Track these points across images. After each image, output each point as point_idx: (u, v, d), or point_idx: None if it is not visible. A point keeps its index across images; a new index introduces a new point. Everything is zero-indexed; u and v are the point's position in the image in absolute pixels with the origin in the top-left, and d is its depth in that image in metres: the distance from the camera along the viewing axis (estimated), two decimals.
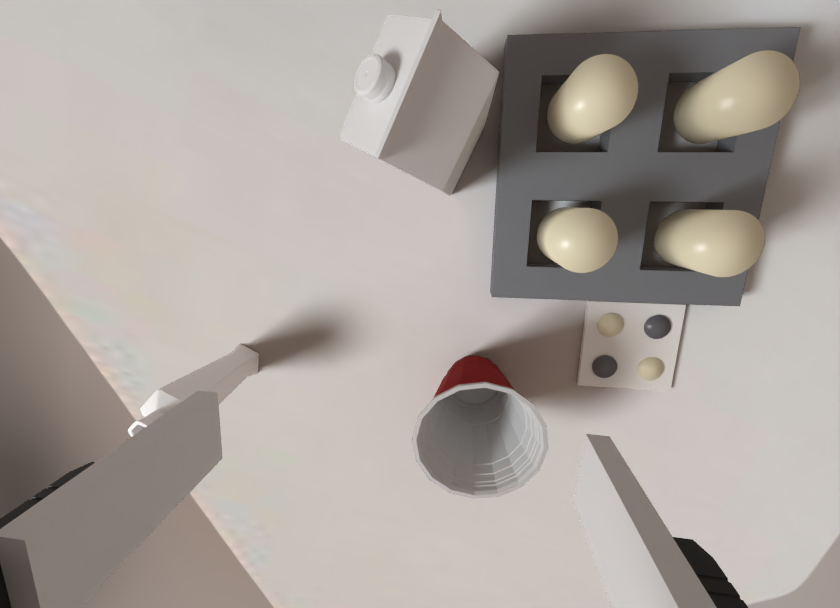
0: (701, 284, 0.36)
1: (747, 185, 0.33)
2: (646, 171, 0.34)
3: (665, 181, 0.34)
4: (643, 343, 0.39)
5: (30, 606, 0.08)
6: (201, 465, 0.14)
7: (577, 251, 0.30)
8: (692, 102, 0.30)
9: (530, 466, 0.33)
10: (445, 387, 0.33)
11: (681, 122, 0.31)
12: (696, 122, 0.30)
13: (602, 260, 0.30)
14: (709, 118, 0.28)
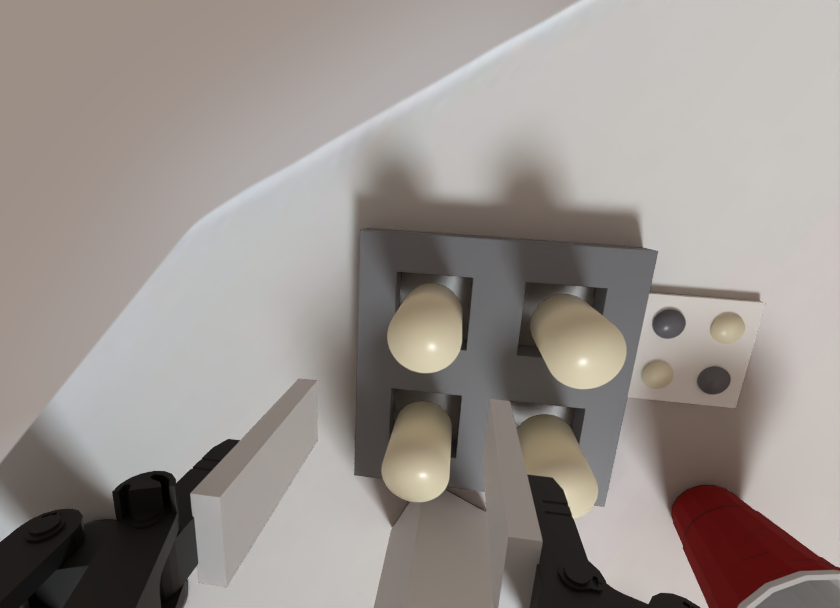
0: (622, 296, 0.30)
1: (510, 260, 0.30)
2: (484, 360, 0.32)
3: (496, 341, 0.32)
4: (688, 337, 0.32)
5: (216, 556, 0.10)
6: (306, 445, 0.15)
7: (572, 497, 0.27)
8: None
9: None
10: None
11: None
12: None
13: (586, 475, 0.27)
14: None
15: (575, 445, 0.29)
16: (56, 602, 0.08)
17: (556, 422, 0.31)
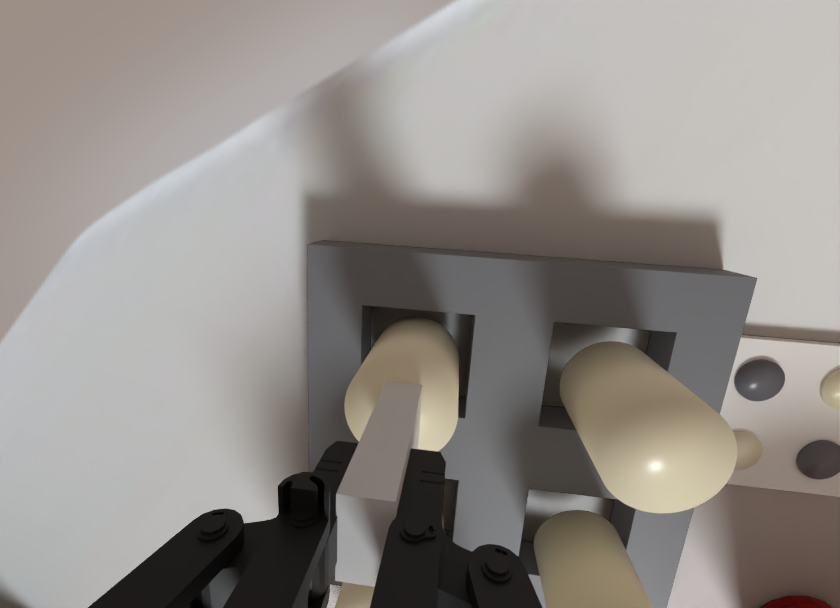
0: (698, 345, 0.20)
1: (530, 289, 0.20)
2: (491, 432, 0.22)
3: (509, 406, 0.22)
4: (787, 399, 0.22)
5: (355, 554, 0.10)
6: None
7: None
8: None
9: None
10: None
11: None
12: None
13: None
14: None
15: (631, 574, 0.19)
16: (214, 604, 0.08)
17: (597, 527, 0.21)
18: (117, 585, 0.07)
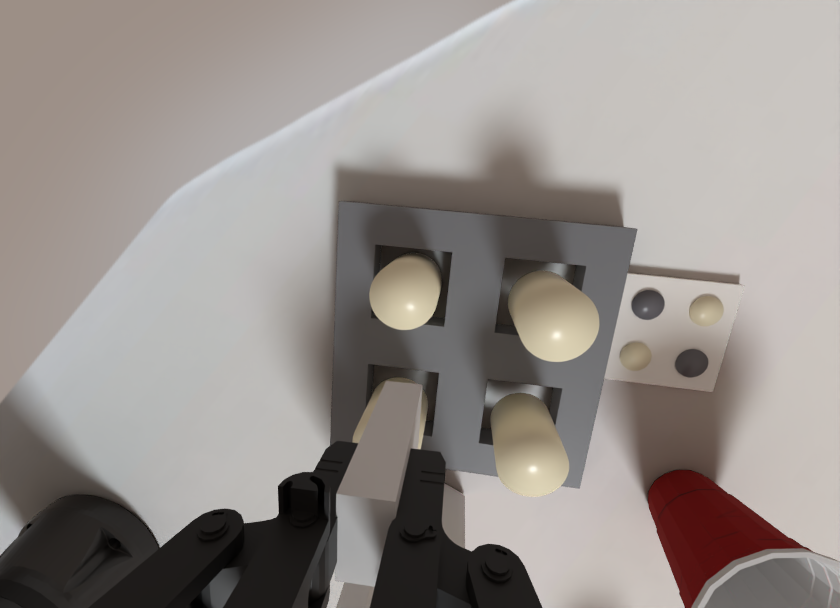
0: (601, 274, 0.30)
1: (489, 234, 0.30)
2: (462, 337, 0.32)
3: (474, 318, 0.31)
4: (667, 319, 0.32)
5: (355, 554, 0.10)
6: None
7: (543, 473, 0.27)
8: None
9: (832, 566, 0.24)
10: None
11: None
12: None
13: (557, 450, 0.26)
14: None
15: (549, 422, 0.29)
16: (214, 604, 0.08)
17: (532, 400, 0.31)
18: (117, 585, 0.07)
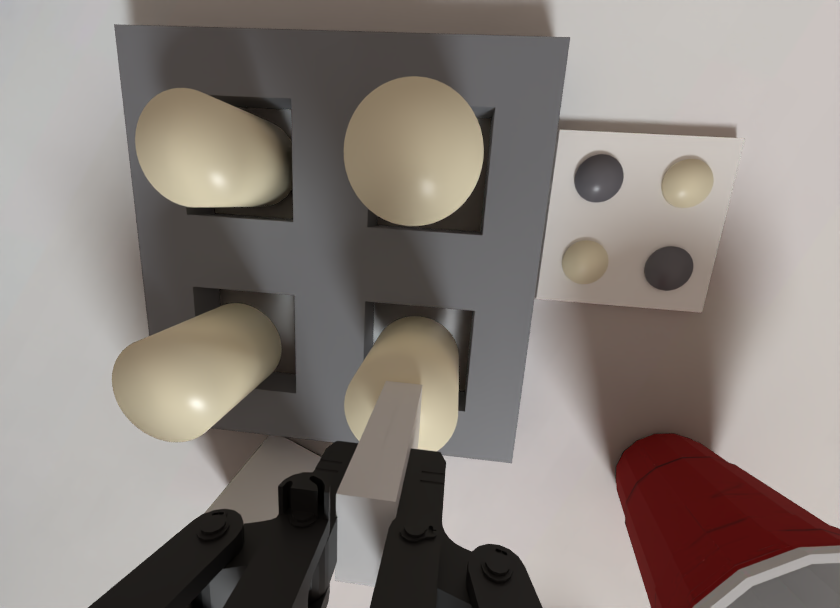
0: (518, 120, 0.19)
1: (343, 65, 0.19)
2: (320, 237, 0.21)
3: (336, 205, 0.21)
4: (629, 200, 0.21)
5: (355, 554, 0.10)
6: None
7: None
8: None
9: None
10: None
11: (266, 203, 0.22)
12: (255, 200, 0.20)
13: (436, 381, 0.16)
14: (239, 199, 0.19)
15: (438, 346, 0.18)
16: (214, 604, 0.08)
17: (425, 323, 0.21)
18: (117, 585, 0.07)
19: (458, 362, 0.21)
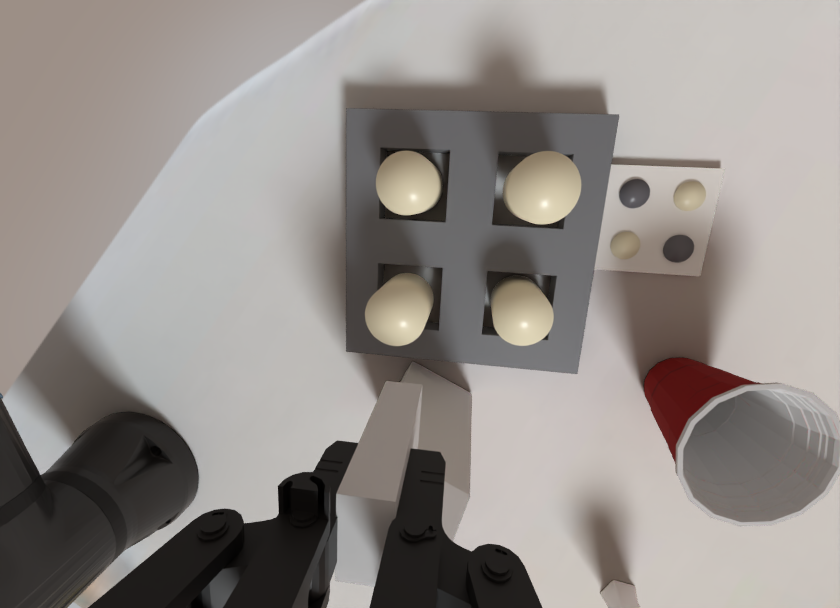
0: (587, 161, 0.32)
1: (483, 130, 0.33)
2: (462, 231, 0.35)
3: (473, 212, 0.34)
4: (653, 206, 0.34)
5: (355, 554, 0.10)
6: None
7: (532, 323, 0.32)
8: None
9: (805, 399, 0.26)
10: None
11: (424, 211, 0.36)
12: (426, 210, 0.34)
13: (543, 301, 0.32)
14: (424, 210, 0.33)
15: (537, 288, 0.34)
16: (214, 604, 0.08)
17: (524, 278, 0.36)
18: (117, 585, 0.07)
19: None
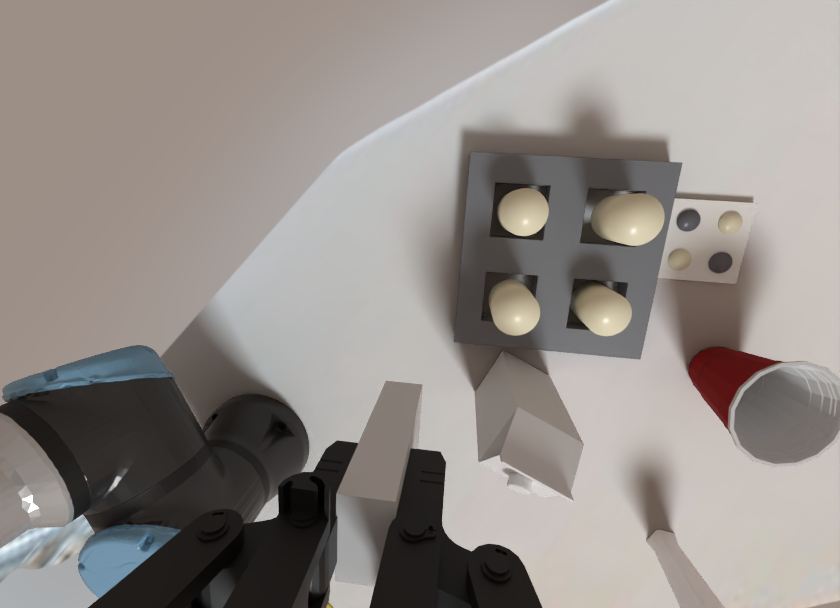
0: (656, 196, 0.43)
1: (577, 171, 0.43)
2: (555, 247, 0.45)
3: (565, 233, 0.44)
4: (702, 230, 0.45)
5: (355, 554, 0.10)
6: None
7: (615, 318, 0.42)
8: None
9: (821, 373, 0.37)
10: (725, 425, 0.41)
11: None
12: None
13: (624, 302, 0.42)
14: None
15: None
16: (214, 604, 0.08)
17: (600, 284, 0.47)
18: (117, 585, 0.07)
19: None
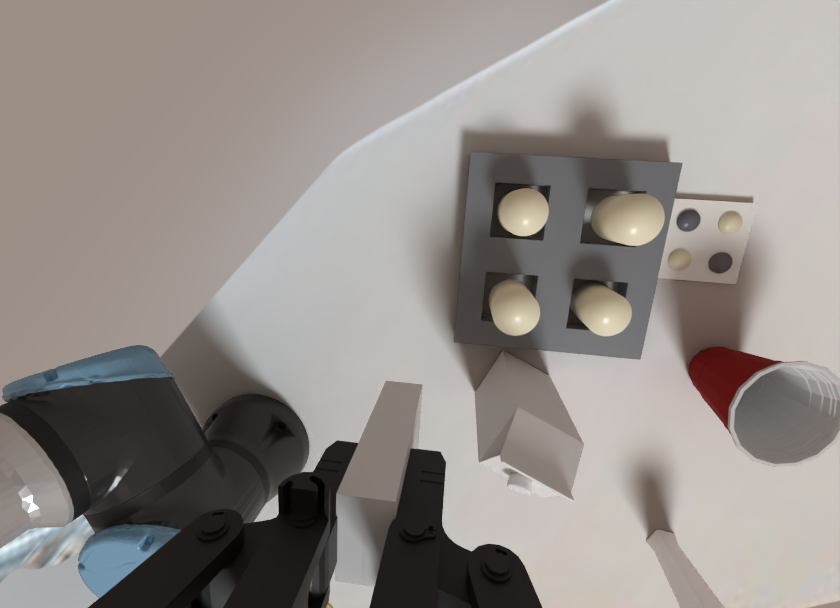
0: (656, 197, 0.43)
1: (577, 171, 0.43)
2: (556, 247, 0.45)
3: (565, 233, 0.44)
4: (702, 230, 0.45)
5: (355, 554, 0.10)
6: None
7: (615, 319, 0.42)
8: None
9: (821, 373, 0.37)
10: (725, 425, 0.41)
11: None
12: None
13: (624, 302, 0.42)
14: None
15: None
16: (214, 605, 0.08)
17: (600, 284, 0.47)
18: (117, 585, 0.07)
19: None
